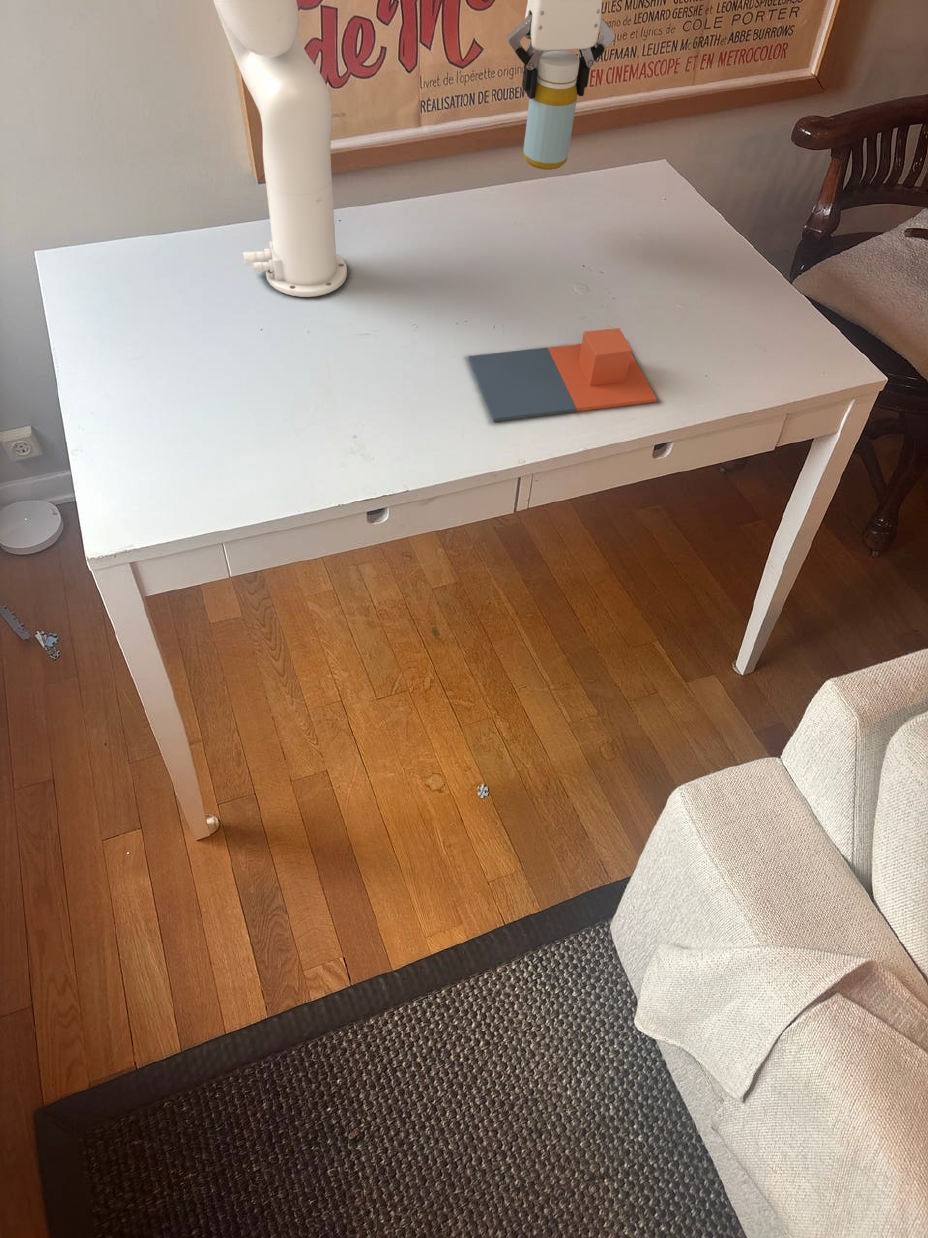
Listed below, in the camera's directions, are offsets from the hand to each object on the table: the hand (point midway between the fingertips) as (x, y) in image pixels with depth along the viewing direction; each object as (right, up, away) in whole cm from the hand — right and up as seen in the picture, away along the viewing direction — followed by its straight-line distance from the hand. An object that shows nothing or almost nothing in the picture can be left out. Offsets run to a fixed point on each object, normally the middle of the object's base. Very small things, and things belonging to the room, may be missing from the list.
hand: (553, 92), depth 143 cm
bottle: (-1, -6, +8) cm, 10 cm away
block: (+7, -43, -4) cm, 43 cm away
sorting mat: (+1, -44, -5) cm, 44 cm away
